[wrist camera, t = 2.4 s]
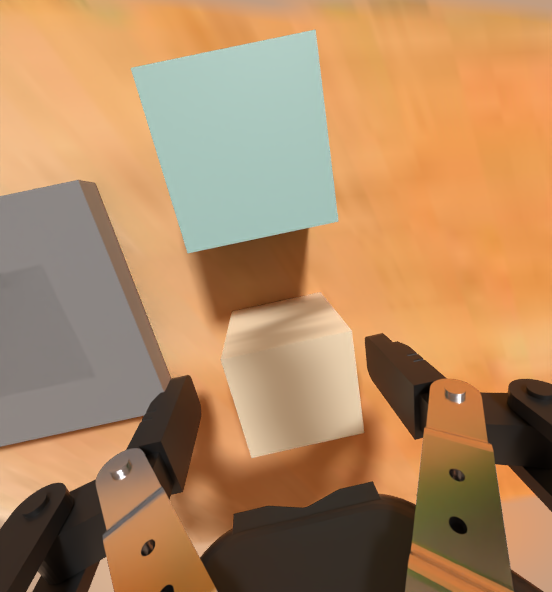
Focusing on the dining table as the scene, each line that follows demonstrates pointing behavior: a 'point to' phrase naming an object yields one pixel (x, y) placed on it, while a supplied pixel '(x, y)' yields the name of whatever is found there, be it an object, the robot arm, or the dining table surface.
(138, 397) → the plate
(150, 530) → the robot arm
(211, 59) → the block teal
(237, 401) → the block birch
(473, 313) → the dining table surface
